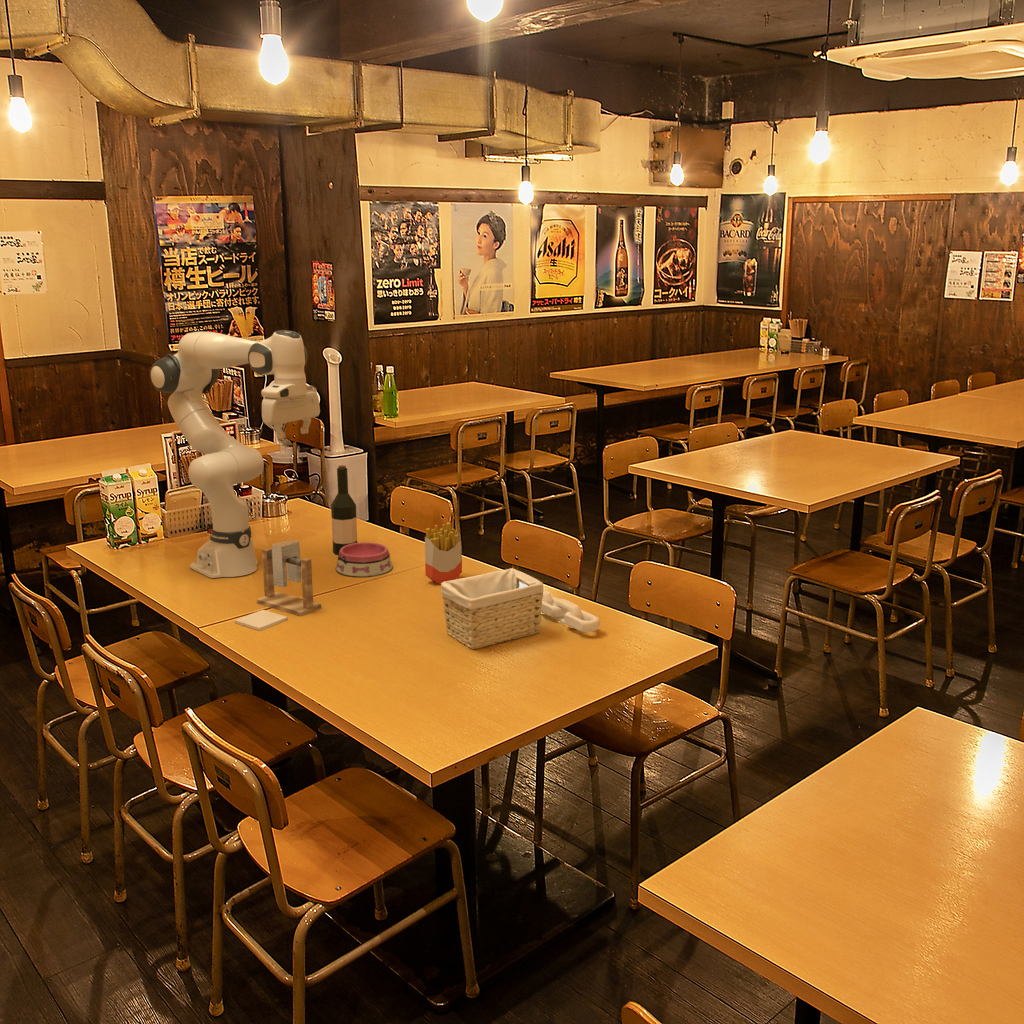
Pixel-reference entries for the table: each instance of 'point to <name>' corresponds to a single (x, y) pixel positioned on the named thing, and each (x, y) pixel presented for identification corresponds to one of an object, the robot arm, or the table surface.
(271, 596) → the rail stand
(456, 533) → the french fries container
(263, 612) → the ceramic tile
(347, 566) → the dog bowl
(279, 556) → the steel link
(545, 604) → the chain
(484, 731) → the table surface
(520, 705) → the table surface
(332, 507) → the wine bottle
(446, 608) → the storage basket
